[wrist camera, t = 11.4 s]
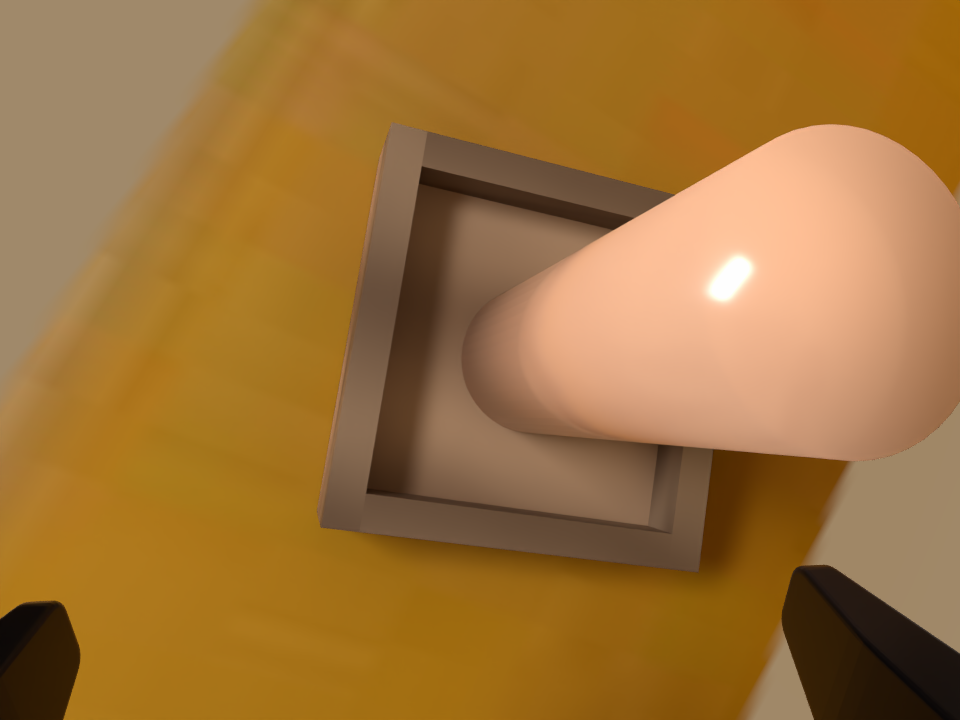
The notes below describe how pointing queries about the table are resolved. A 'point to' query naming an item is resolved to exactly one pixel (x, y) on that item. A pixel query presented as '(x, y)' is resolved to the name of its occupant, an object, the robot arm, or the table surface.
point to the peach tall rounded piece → (746, 312)
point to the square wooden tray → (441, 386)
